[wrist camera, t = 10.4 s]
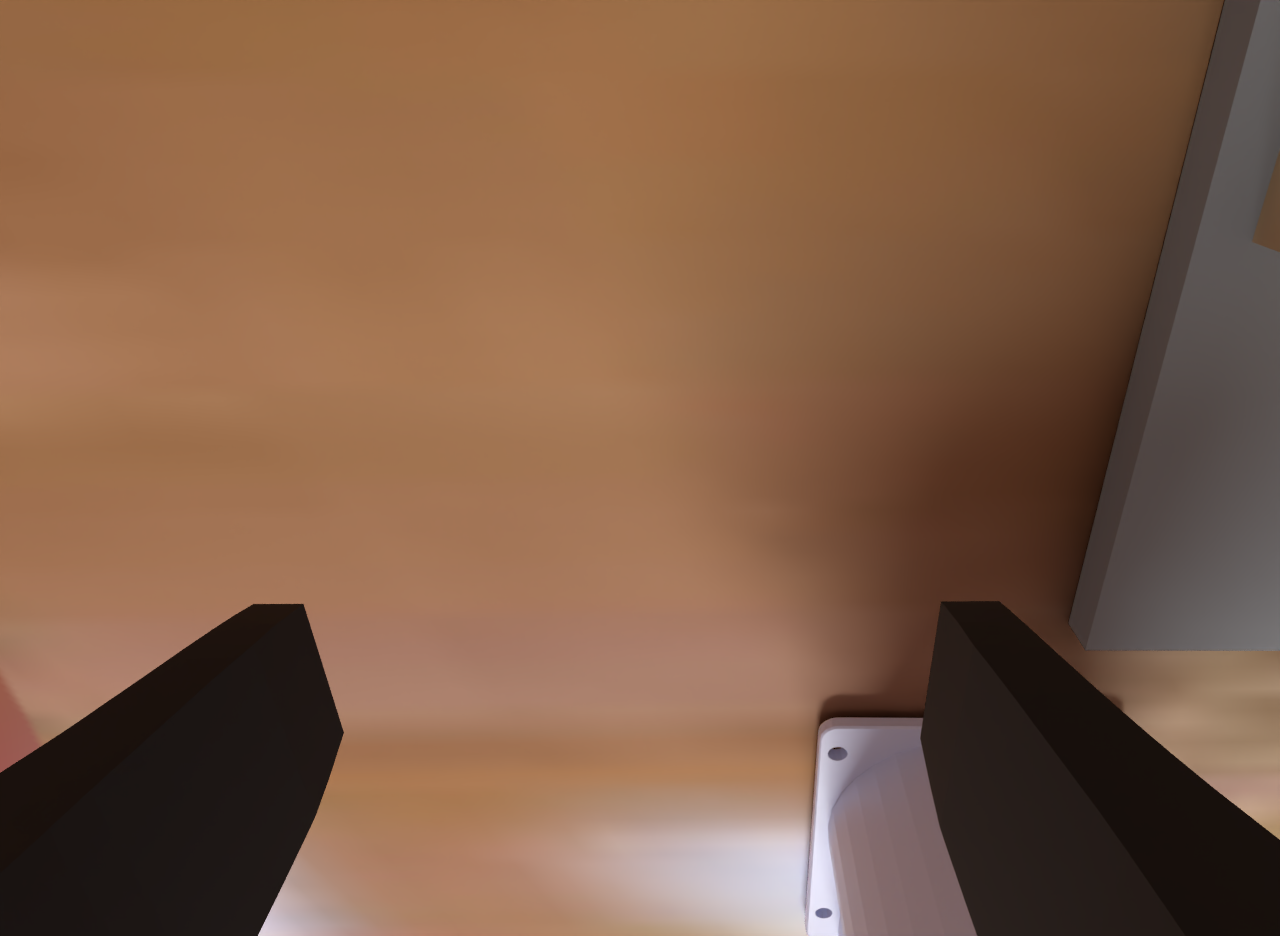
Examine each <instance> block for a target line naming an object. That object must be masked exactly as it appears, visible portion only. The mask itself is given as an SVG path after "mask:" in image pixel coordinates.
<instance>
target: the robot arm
mask: <svg viewBox="0 0 1280 936" xmlns="http://www.w3.org/2000/svg"><path fill="white" fill-rule="evenodd" d="M343 733H344V732H343V729H342V725H341V722H340V719H339V716H338V713H337V709H336V706H335V703H334V700H333V697H332V694H331V690H330V687H329V684H328V681H327V678H326V674H325V671H324V668H323V665H322V662H321V659H320V655H319V652H318V649H317V646H316V643H315V640H314V636H313V633H312V630H311V627H310V624H309V620H308V617H307V614H306V611H305V608H304V605H303V604H253V605H251V606H250V607H248V608H246V609H244V610H243V611H241V612H239V613H238V614H236V615H234V616H233V617H231V618H230V619H228V620H227V621H225V622H223V623H222V624H220V625H219V626H217V627H216V628H214V629H213V630H211V631H210V632H208V633H207V634H205V635H204V636H202V637H201V638H199V639H198V640H196V641H195V642H193V643H192V644H191V645H189V646H188V647H186V648H185V649H183V650H182V651H180V652H179V653H177V654H176V655H175V656H173V657H172V658H170V659H169V660H167V661H166V662H164V663H163V664H162V665H160V666H159V667H157V668H156V669H154V670H153V671H151V672H150V673H149V674H147V675H146V676H144V677H143V678H141V679H140V680H138V681H137V682H136V683H134V684H133V685H131V686H130V687H128V688H127V689H125V690H124V691H122V692H121V693H120V694H118V695H117V696H115V697H114V698H112V699H111V700H109V701H108V702H106V703H105V704H104V705H102V706H101V707H99V708H98V709H96V710H95V711H93V712H92V713H90V714H89V715H88V716H86V717H85V718H83V719H82V720H80V721H79V722H77V723H76V724H74V725H73V726H71V727H70V728H69V729H67V730H66V731H64V732H63V733H61V734H60V735H58V736H56V737H55V738H53V739H52V740H50V741H49V742H47V743H46V744H44V745H43V746H41V747H39V748H38V749H36V750H35V751H33V752H32V753H30V754H29V755H27V756H26V757H24V758H23V759H21V760H19V761H18V762H16V763H15V764H13V765H12V766H10V767H9V768H7V769H5V770H4V771H2V772H1V773H0V936H258V934H259V932H260V930H261V928H262V926H263V924H264V922H265V920H266V918H267V916H268V914H269V912H270V910H271V908H272V906H273V904H274V902H275V899H276V897H277V895H278V893H279V891H280V889H281V887H282V885H283V883H284V881H285V879H286V877H287V875H288V873H289V871H290V869H291V867H292V865H293V862H294V860H295V858H296V856H297V854H298V852H299V850H300V848H301V846H302V844H303V842H304V840H305V837H306V835H307V833H308V831H309V829H310V827H311V825H312V822H313V820H314V818H315V816H316V813H317V810H318V808H319V805H320V802H321V799H322V797H323V794H324V791H325V788H326V785H327V783H328V780H329V777H330V774H331V771H332V768H333V765H334V761H335V758H336V755H337V752H338V749H339V746H340V743H341V740H342V737H343ZM835 747H842V748H840V749H832V748H835ZM805 927H806V933H807V935H808V936H1280V840H1279V839H1278V838H1277V837H1275V836H1274V835H1273V834H1271V833H1270V832H1269V831H1268V830H1266V829H1265V828H1264V827H1263V826H1261V825H1260V824H1259V823H1257V822H1256V821H1255V820H1254V819H1252V818H1251V817H1250V816H1248V815H1247V814H1246V813H1245V812H1243V811H1242V810H1241V809H1240V808H1238V807H1237V806H1236V805H1234V804H1233V803H1232V802H1231V801H1229V800H1228V799H1227V798H1225V797H1224V796H1223V795H1222V794H1220V793H1219V792H1218V791H1217V790H1215V789H1214V788H1213V787H1211V786H1210V785H1209V784H1208V783H1207V782H1205V781H1204V780H1203V779H1202V778H1200V777H1199V776H1198V775H1197V774H1196V773H1194V772H1193V771H1192V770H1191V769H1190V768H1188V767H1187V766H1186V765H1185V764H1183V763H1182V762H1181V761H1180V760H1179V759H1177V758H1176V757H1175V756H1174V755H1173V754H1171V753H1170V752H1169V751H1168V750H1167V749H1165V748H1164V747H1163V746H1162V745H1161V744H1159V743H1158V742H1157V741H1156V740H1155V739H1154V738H1152V737H1151V736H1150V735H1149V734H1148V733H1147V732H1145V731H1144V730H1143V729H1142V728H1141V727H1140V726H1138V725H1137V724H1136V723H1135V722H1134V721H1133V720H1131V719H1130V718H1129V717H1128V716H1127V715H1126V714H1125V713H1123V712H1122V711H1121V710H1120V709H1119V708H1118V707H1117V706H1115V705H1114V704H1113V703H1112V702H1111V701H1110V700H1109V699H1107V698H1106V697H1105V696H1104V695H1103V694H1102V693H1101V692H1100V691H1098V690H1097V689H1096V688H1095V687H1094V686H1093V685H1092V684H1091V683H1089V682H1088V681H1087V680H1086V679H1085V678H1084V677H1083V676H1082V675H1081V674H1079V673H1078V672H1077V671H1076V670H1075V669H1074V668H1073V667H1072V666H1071V665H1069V664H1068V663H1067V662H1066V661H1065V660H1064V659H1063V658H1062V657H1061V656H1060V655H1058V654H1057V653H1056V652H1055V651H1054V650H1053V649H1052V648H1051V647H1050V646H1049V645H1047V644H1046V643H1045V642H1044V641H1043V640H1042V639H1041V638H1040V637H1039V636H1038V635H1037V634H1035V633H1034V632H1033V631H1032V630H1031V629H1030V628H1029V627H1028V626H1027V625H1025V624H1024V623H1023V622H1022V621H1021V620H1020V619H1019V618H1018V617H1017V616H1015V615H1014V614H1013V613H1012V612H1011V611H1010V610H1009V609H1007V608H1006V607H1005V606H1004V605H1003V604H1002V603H1001V602H999V601H968V602H941V606H940V612H939V619H938V625H937V632H936V638H935V645H934V651H933V658H932V664H931V671H930V677H929V684H928V690H927V697H926V703H925V710H924V716H923V718H859V717H836V718H830V719H828V720H826V721H824V722H823V723H822V724H821V725H820V727H819V730H818V742H817V756H816V770H815V784H814V798H813V813H812V827H811V841H810V855H809V869H808V883H807V898H806V912H805Z"/></svg>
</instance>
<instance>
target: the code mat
mask: <svg viewBox="0 0 1280 936" xmlns="http://www.w3.org/2000/svg"><path fill="white" fill-rule="evenodd" d="M1279 150H1280V0H1225V2H1224V6H1223V10H1222V14H1221V18H1220V22H1219V26H1218V30H1217V34H1216V38H1215V42H1214V46H1213V50H1212V54H1211V58H1210V62H1209V66H1208V70H1207V74H1206V78H1205V82H1204V86H1203V90H1202V94H1201V98H1200V102H1199V106H1198V110H1197V114H1196V118H1195V122H1194V126H1193V130H1192V133H1191V137H1190V141H1189V145H1188V149H1187V153H1186V157H1185V161H1184V165H1183V169H1182V173H1181V177H1180V181H1179V185H1178V189H1177V193H1176V197H1175V201H1174V205H1173V209H1172V213H1171V217H1170V221H1169V225H1168V229H1167V233H1166V237H1165V241H1164V245H1163V249H1162V253H1161V257H1160V261H1159V265H1158V269H1157V273H1156V277H1155V281H1154V285H1153V289H1152V293H1151V297H1150V301H1149V305H1148V308H1147V312H1146V316H1145V320H1144V324H1143V328H1142V332H1141V336H1140V340H1139V344H1138V348H1137V352H1136V356H1135V360H1134V364H1133V368H1132V372H1131V376H1130V380H1129V384H1128V388H1127V392H1126V396H1125V400H1124V404H1123V408H1122V412H1121V416H1120V420H1119V424H1118V428H1117V432H1116V436H1115V440H1114V444H1113V448H1112V452H1111V456H1110V460H1109V464H1108V468H1107V472H1106V476H1105V480H1104V483H1103V487H1102V491H1101V495H1100V499H1099V503H1098V507H1097V511H1096V515H1095V519H1094V523H1093V527H1092V531H1091V535H1090V539H1089V543H1088V547H1087V551H1086V555H1085V559H1084V563H1083V567H1082V571H1081V575H1080V579H1079V583H1078V587H1077V591H1076V595H1075V599H1074V603H1073V607H1072V611H1071V615H1070V619H1069V623H1068V624H1069V625H1070V627H1071V628H1072V630H1073V632H1074V633H1075V635H1076V636H1077V638H1078V639H1079V641H1080V643H1081V644H1082V646H1083V647H1084V649H1085V650H1210V651H1280V252H1277V251H1275V250H1272V249H1269V248H1267V247H1264V246H1261V245H1259V244H1256V243H1253V242H1252V240H1253V236H1254V233H1255V230H1256V226H1257V223H1258V220H1259V216H1260V213H1261V210H1262V207H1263V203H1264V200H1265V197H1266V193H1267V190H1268V187H1269V183H1270V180H1271V177H1272V173H1273V170H1274V167H1275V163H1276V160H1277V157H1278V153H1279Z"/></svg>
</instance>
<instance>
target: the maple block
mask: <svg viewBox="0 0 1280 936" xmlns="http://www.w3.org/2000/svg"><path fill="white" fill-rule="evenodd" d="M1252 242H1253V243H1256V244H1259V245H1261V246H1264V247H1267V248H1269V249H1272V250H1275V251H1277V252H1280V150H1279V153H1278V157H1277V160H1276V163H1275V167H1274V170H1273V173H1272V177H1271V180H1270V183H1269V187H1268V190H1267V193H1266V197H1265V200H1264V203H1263V207H1262V210H1261V213H1260V216H1259V220H1258V223H1257V226H1256V230H1255V233H1254V236H1253V240H1252Z"/></svg>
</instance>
